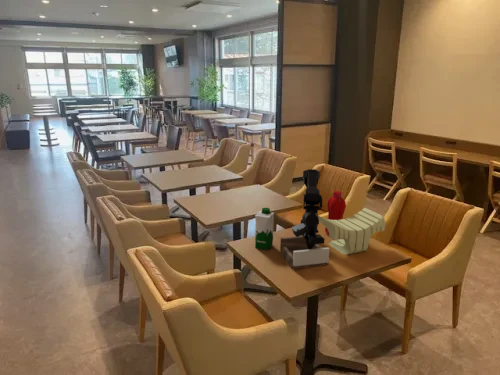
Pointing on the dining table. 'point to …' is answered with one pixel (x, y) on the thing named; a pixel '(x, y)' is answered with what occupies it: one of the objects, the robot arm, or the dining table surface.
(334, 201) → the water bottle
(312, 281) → the dining table surface
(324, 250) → the panel
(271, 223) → the milk carton
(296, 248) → the brown open box
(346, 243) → the slatted curved stool
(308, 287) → the dining table surface
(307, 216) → the robot arm
